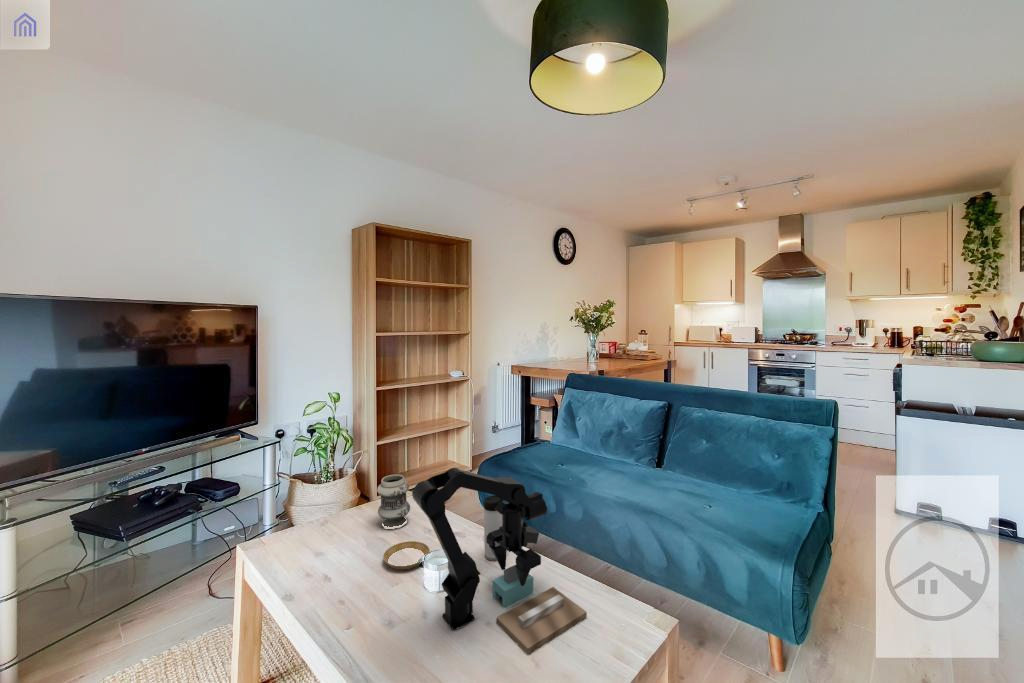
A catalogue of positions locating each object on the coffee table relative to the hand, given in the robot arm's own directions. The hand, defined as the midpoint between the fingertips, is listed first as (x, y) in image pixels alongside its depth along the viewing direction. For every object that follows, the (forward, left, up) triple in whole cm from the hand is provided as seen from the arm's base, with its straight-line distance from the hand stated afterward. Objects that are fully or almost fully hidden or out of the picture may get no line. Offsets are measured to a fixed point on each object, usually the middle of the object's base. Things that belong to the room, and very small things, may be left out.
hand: (512, 577), depth 120 cm
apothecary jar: (-11, +61, -6) cm, 63 cm away
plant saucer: (-17, +35, -6) cm, 40 cm away
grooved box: (0, 0, -5) cm, 5 cm away
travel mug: (+7, +19, -6) cm, 21 cm away
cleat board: (0, -13, -5) cm, 14 cm away
